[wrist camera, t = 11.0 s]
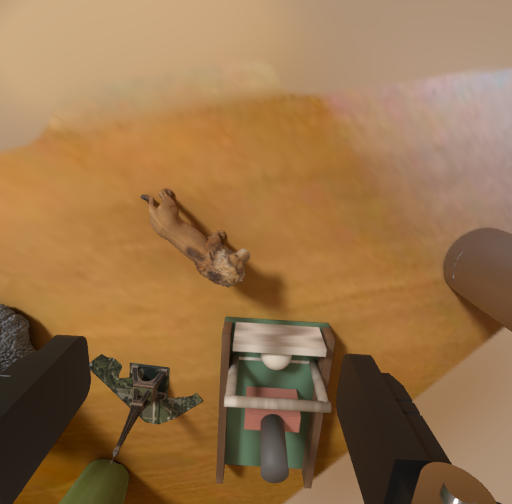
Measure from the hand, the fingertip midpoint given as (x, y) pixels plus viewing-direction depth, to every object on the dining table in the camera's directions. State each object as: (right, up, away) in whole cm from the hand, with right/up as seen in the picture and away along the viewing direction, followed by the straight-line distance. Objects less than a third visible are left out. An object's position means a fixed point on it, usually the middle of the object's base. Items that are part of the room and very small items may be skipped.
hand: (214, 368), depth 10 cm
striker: (+3, -17, +35) cm, 39 cm away
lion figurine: (-6, +7, +30) cm, 31 cm away
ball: (+4, -9, +31) cm, 33 cm away
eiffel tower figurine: (-15, -15, +37) cm, 43 cm away
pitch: (+3, -17, +37) cm, 41 cm away
